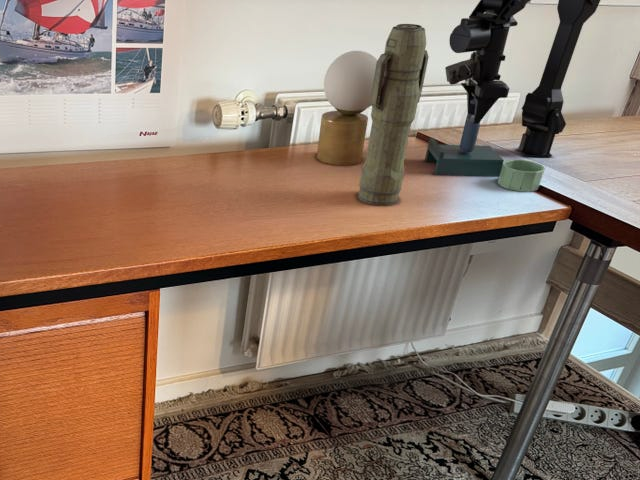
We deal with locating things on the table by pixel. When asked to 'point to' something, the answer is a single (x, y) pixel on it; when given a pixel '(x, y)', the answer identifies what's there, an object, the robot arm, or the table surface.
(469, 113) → the vaping device
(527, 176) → the green bowl
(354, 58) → the lamp
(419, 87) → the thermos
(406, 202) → the table surface
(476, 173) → the dark green stepped platform
